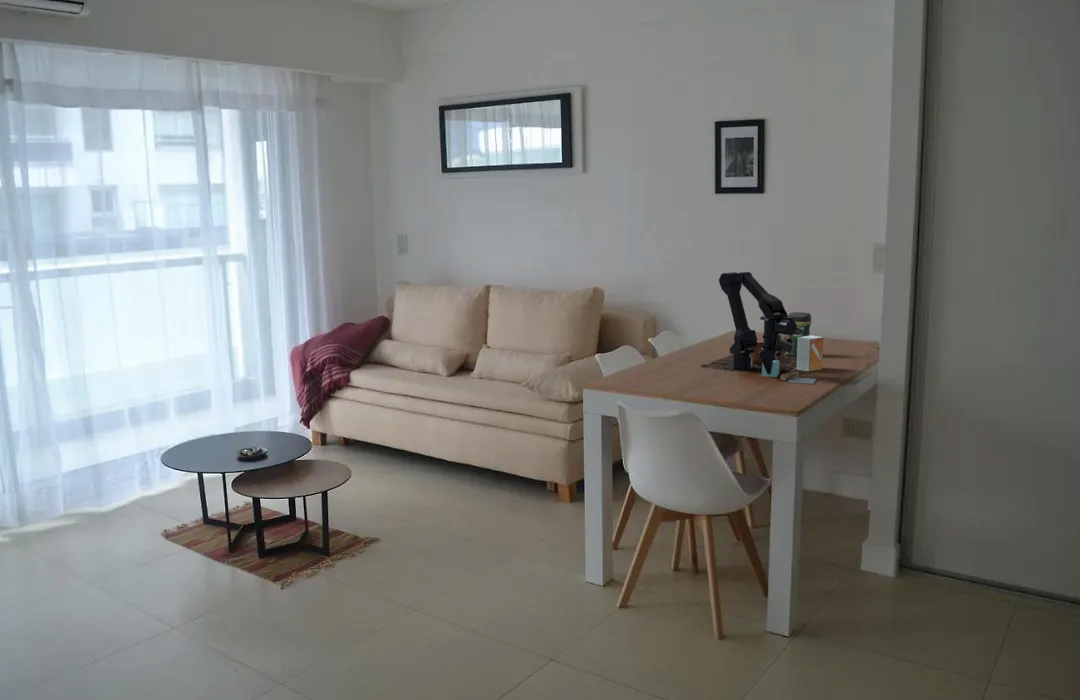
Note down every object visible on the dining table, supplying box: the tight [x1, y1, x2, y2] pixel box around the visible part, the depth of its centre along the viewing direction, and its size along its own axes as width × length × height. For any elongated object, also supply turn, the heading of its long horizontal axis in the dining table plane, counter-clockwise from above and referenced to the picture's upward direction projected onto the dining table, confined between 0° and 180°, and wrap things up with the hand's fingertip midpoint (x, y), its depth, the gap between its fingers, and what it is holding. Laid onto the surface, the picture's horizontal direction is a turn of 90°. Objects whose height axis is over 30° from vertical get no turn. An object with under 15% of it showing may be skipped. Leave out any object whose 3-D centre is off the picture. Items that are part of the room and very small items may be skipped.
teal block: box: [761, 359, 781, 378], centre depth 344 cm, size 6×6×6 cm
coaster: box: [787, 376, 817, 385], centre depth 332 cm, size 9×9×1 cm
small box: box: [796, 334, 824, 372], centre depth 353 cm, size 8×6×13 cm
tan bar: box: [780, 371, 800, 382], centre depth 337 cm, size 8×2×2 cm, turn 125°
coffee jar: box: [786, 311, 812, 357], centre depth 383 cm, size 10×8×19 cm
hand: (770, 372), depth 344 cm, fingers open, 6 cm apart
